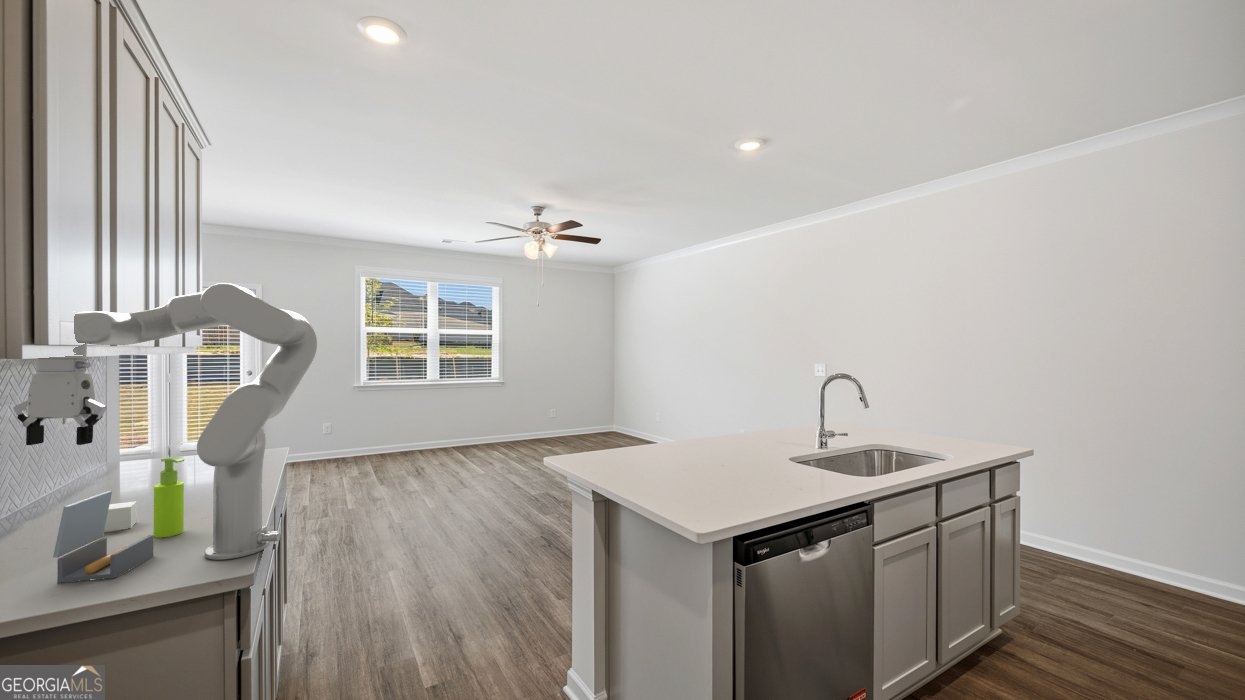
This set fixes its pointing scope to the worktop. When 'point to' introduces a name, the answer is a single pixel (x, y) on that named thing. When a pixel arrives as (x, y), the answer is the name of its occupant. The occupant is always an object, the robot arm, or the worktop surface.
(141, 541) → the cable duct
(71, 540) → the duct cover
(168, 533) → the soap dispenser
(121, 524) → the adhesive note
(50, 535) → the worktop surface
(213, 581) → the worktop surface
